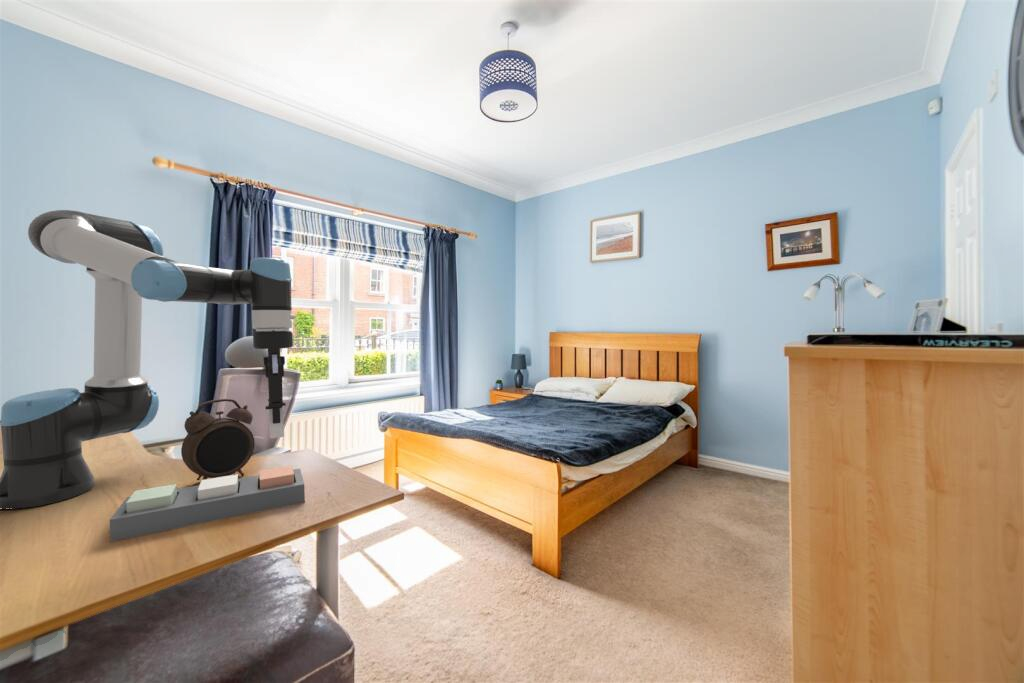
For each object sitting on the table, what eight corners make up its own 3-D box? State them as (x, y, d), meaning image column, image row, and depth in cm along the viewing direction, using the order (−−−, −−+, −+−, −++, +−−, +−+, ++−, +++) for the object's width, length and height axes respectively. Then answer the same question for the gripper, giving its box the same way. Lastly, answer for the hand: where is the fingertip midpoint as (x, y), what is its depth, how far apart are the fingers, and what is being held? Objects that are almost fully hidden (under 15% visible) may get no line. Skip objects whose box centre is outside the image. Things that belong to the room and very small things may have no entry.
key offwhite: (202, 493, 87) (201, 480, 87) (238, 487, 90) (237, 474, 90) (198, 505, 81) (197, 490, 81) (236, 498, 85) (236, 483, 85)
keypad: (127, 516, 83) (126, 497, 82) (300, 484, 99) (300, 468, 99) (110, 541, 73) (109, 519, 73) (304, 502, 89) (304, 484, 89)
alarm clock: (190, 492, 94) (187, 406, 94) (180, 485, 99) (177, 402, 98) (259, 474, 106) (257, 397, 105) (248, 468, 110) (245, 394, 110)
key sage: (136, 505, 81) (135, 490, 81) (177, 498, 85) (176, 484, 85) (127, 518, 76) (126, 502, 76) (171, 510, 79) (170, 495, 79)
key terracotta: (260, 483, 92) (259, 470, 92) (292, 478, 96) (292, 465, 96) (260, 493, 87) (259, 479, 87) (294, 487, 90) (294, 474, 90)
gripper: (294, 330, 86) (298, 441, 87) (290, 329, 97) (294, 428, 98) (252, 330, 82) (256, 447, 83) (253, 330, 93) (257, 433, 94)
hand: (276, 436), depth 91 cm, fingers closed
